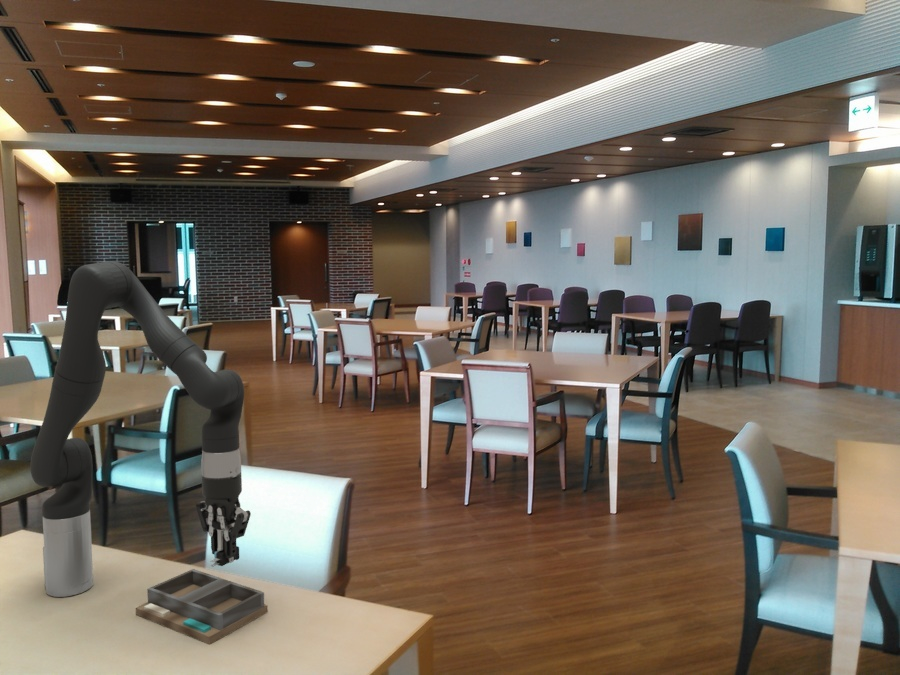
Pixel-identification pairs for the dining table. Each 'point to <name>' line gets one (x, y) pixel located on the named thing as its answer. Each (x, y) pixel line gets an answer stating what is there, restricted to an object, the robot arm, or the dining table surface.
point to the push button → (222, 545)
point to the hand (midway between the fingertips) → (224, 554)
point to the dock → (202, 605)
